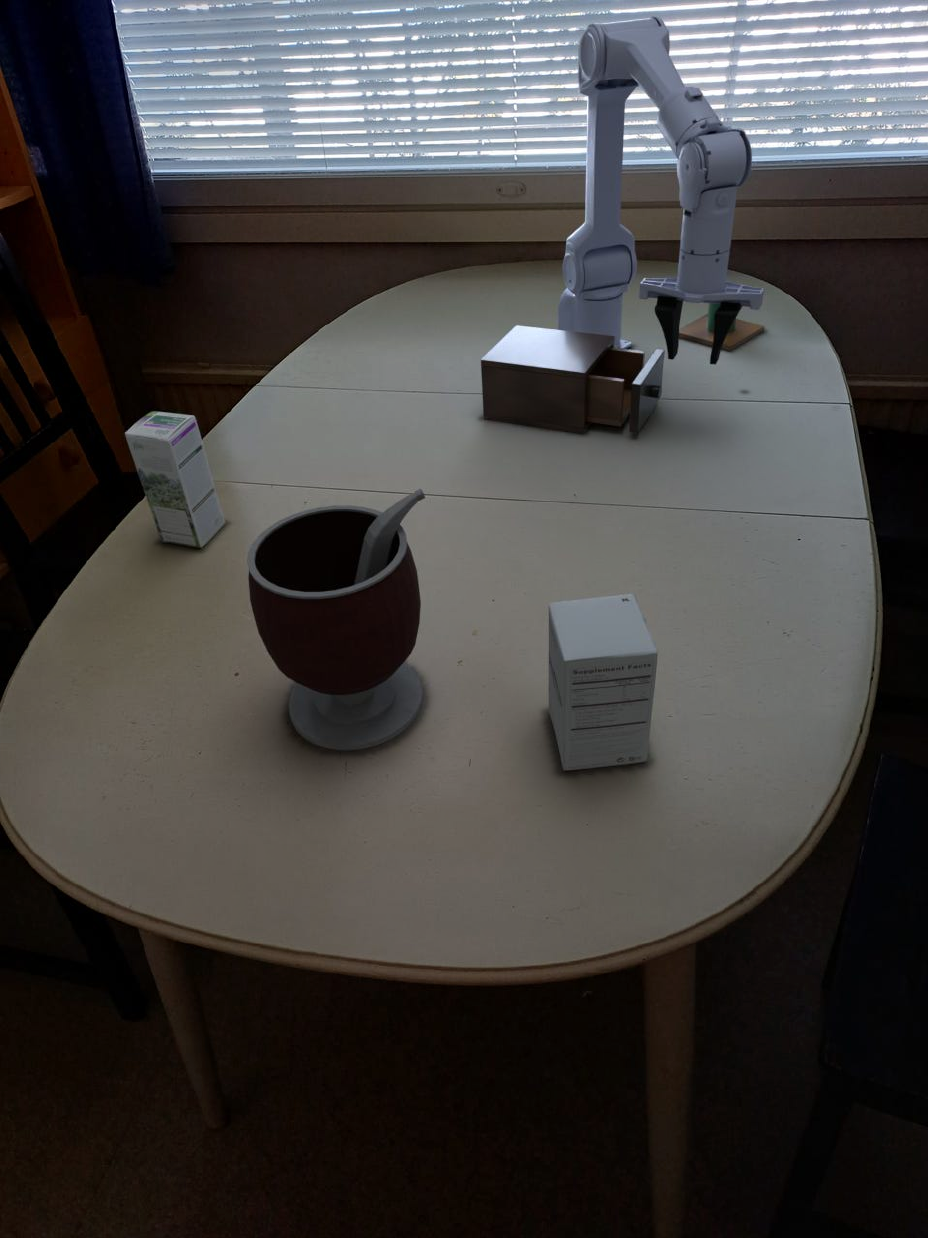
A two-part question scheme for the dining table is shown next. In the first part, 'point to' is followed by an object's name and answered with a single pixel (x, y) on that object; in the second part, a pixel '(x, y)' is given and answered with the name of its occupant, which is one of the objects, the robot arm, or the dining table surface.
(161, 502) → the syrup box
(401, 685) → the mate gourd
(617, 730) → the white packaging box
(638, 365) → the drawer
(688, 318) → the dining table surface
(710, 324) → the green pot
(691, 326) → the board
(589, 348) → the small wooden cabinet
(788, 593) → the dining table surface
